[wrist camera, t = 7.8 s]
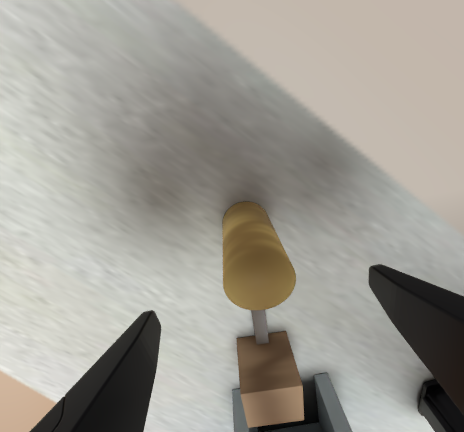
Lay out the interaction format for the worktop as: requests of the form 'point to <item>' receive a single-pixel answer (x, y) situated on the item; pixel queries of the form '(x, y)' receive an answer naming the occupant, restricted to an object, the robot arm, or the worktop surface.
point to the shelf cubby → (328, 428)
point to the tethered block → (261, 315)
